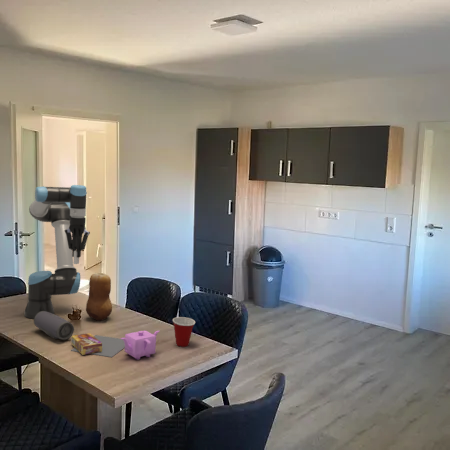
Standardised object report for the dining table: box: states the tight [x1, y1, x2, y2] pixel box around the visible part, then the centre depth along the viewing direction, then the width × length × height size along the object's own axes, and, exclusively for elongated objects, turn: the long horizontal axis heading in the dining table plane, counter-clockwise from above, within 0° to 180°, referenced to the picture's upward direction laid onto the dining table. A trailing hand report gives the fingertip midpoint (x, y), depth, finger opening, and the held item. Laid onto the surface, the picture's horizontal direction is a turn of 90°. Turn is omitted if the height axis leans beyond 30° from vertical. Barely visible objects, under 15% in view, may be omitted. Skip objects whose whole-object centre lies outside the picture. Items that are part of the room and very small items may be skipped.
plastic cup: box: [172, 316, 196, 348], centre depth 235 cm, size 11×11×12 cm
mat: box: [70, 334, 125, 358], centre depth 228 cm, size 20×22×1 cm
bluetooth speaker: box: [33, 311, 75, 341], centre depth 237 cm, size 23×9×10 cm, turn 48°
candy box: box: [71, 332, 102, 356], centre depth 223 cm, size 9×4×15 cm
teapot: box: [119, 330, 160, 360], centre depth 219 cm, size 15×13×11 cm
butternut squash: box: [85, 272, 113, 322], centre depth 265 cm, size 14×13×25 cm
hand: (76, 263), depth 248 cm, fingers closed
